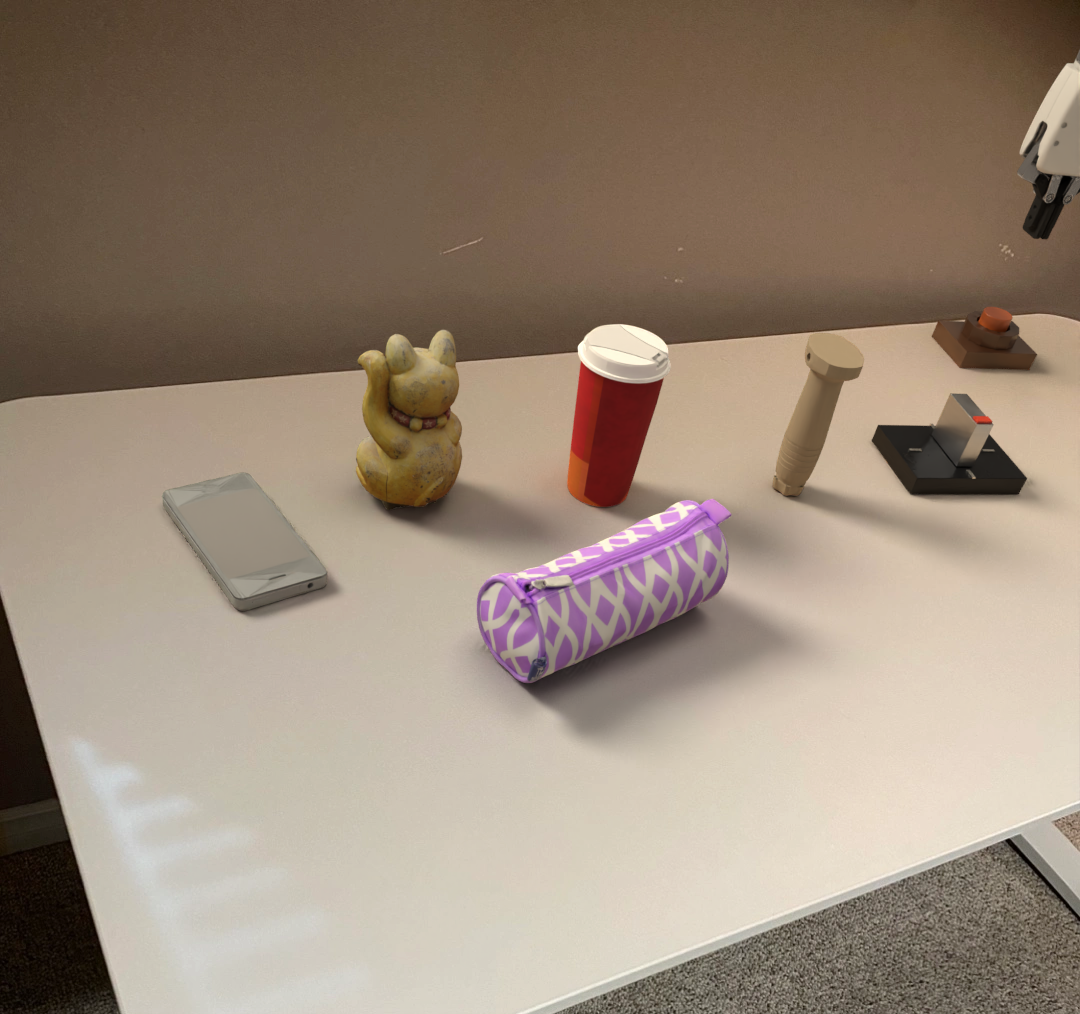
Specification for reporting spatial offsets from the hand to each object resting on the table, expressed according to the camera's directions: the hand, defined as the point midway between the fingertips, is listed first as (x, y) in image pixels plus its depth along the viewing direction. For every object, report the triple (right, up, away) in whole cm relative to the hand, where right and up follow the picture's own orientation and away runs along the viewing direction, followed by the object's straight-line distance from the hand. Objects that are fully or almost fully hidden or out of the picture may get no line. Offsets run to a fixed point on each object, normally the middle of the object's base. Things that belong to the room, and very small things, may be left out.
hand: (1034, 233), depth 127 cm
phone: (-83, -42, -35) cm, 100 cm away
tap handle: (-14, -28, -12) cm, 34 cm away
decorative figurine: (-70, -36, -27) cm, 83 cm away
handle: (-33, -34, -18) cm, 50 cm away
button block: (-2, -10, +11) cm, 15 cm away
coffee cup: (-52, -35, -22) cm, 67 cm away
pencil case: (-53, -50, -37) cm, 81 cm away
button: (-2, -8, +8) cm, 11 cm away
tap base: (-14, -30, -10) cm, 35 cm away
